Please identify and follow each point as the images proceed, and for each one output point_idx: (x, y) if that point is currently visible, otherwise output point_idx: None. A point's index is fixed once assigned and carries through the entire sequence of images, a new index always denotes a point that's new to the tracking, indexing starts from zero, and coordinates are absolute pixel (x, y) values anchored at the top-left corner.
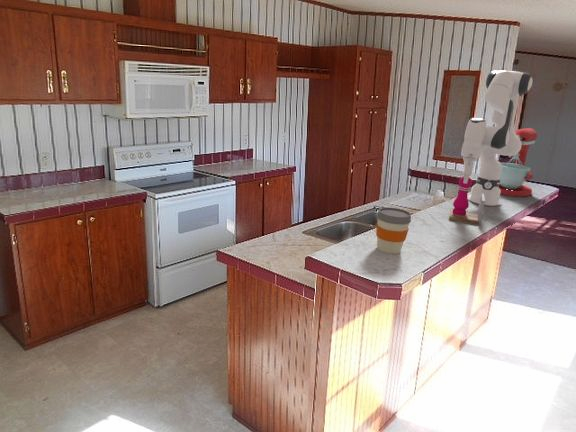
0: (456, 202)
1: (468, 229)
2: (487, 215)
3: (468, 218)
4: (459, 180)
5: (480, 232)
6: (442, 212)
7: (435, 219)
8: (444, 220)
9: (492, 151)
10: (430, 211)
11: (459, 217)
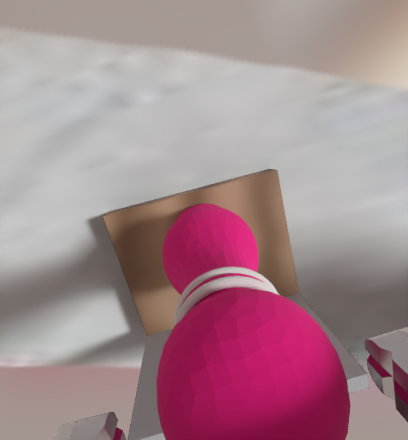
0: (168, 241)
1: (45, 318)
2: (345, 311)
3: (149, 296)
4: (208, 325)
5: (52, 361)
6: (224, 141)
7: (52, 157)
8: (81, 198)
9: None
10: (185, 80)
11: (126, 260)
